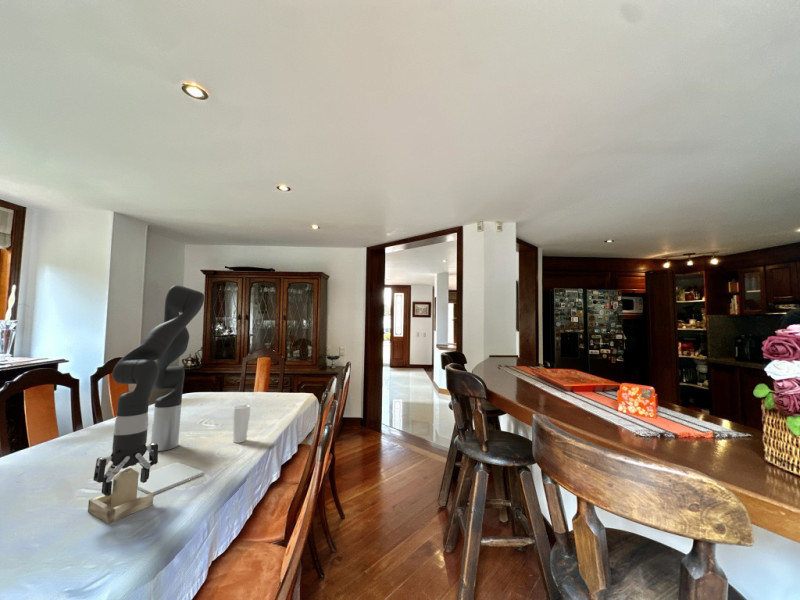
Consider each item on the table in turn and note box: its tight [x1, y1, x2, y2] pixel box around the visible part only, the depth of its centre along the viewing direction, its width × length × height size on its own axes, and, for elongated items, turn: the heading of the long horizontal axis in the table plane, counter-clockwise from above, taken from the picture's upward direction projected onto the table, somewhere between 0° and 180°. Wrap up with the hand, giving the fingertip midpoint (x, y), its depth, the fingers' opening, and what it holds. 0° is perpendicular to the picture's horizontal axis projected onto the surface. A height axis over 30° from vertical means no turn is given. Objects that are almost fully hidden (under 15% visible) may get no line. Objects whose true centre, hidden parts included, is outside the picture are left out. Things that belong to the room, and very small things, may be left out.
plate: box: [137, 461, 205, 495], centre depth 108 cm, size 16×16×1 cm
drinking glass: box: [232, 404, 251, 444], centre depth 144 cm, size 7×7×15 cm
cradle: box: [87, 491, 155, 524], centre depth 90 cm, size 10×11×3 cm
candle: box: [110, 467, 140, 508], centre depth 91 cm, size 6×6×10 cm
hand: (125, 488), depth 91 cm, fingers open, 8 cm apart
